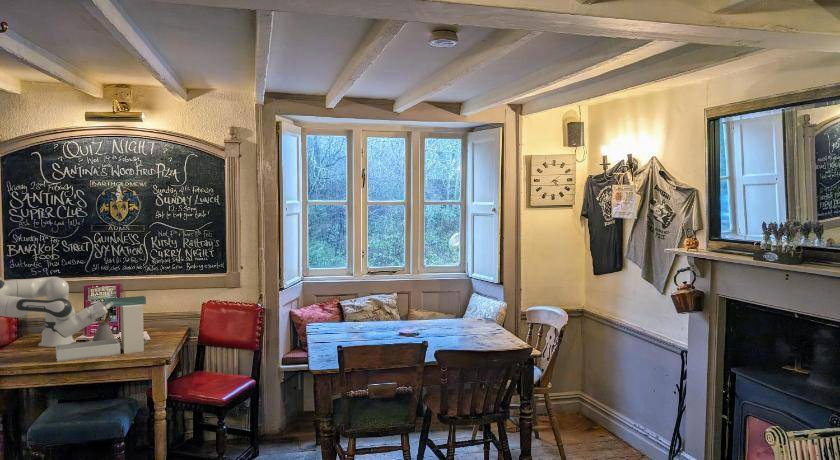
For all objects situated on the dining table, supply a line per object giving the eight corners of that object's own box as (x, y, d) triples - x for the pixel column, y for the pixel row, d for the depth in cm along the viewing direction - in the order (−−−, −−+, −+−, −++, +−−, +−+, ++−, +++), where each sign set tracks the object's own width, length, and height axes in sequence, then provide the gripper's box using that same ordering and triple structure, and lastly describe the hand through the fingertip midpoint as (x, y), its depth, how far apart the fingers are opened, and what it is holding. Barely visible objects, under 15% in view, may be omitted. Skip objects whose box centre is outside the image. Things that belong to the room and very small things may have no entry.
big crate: (55, 356, 331) (55, 345, 330) (117, 349, 347) (117, 338, 347) (57, 362, 320) (56, 350, 319) (120, 354, 336) (120, 343, 336)
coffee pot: (111, 344, 357) (111, 319, 356) (90, 345, 354) (89, 320, 353) (121, 336, 377) (121, 312, 377) (101, 336, 375) (100, 312, 374)
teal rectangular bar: (105, 306, 339) (105, 298, 338) (144, 302, 349) (144, 295, 349) (106, 307, 335) (106, 300, 335) (145, 304, 346) (145, 297, 345)
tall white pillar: (121, 348, 348) (120, 303, 346) (140, 346, 353) (139, 302, 351) (124, 353, 338) (123, 307, 336) (143, 351, 343) (143, 305, 341)
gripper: (86, 315, 322) (111, 300, 329) (83, 308, 340) (106, 294, 346) (93, 324, 325) (118, 309, 331) (89, 317, 342) (113, 303, 348)
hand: (112, 301), depth 338 cm, fingers closed on teal rectangular bar, 4 cm apart
